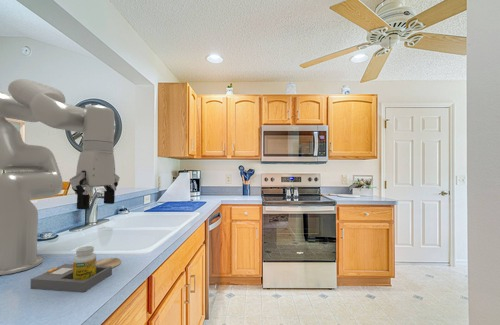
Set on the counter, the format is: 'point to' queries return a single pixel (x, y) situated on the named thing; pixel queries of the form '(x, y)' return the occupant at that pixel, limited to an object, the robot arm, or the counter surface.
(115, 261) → the cork coaster
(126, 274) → the counter surface
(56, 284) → the gray rectangular fixture
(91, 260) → the supplement bottle
